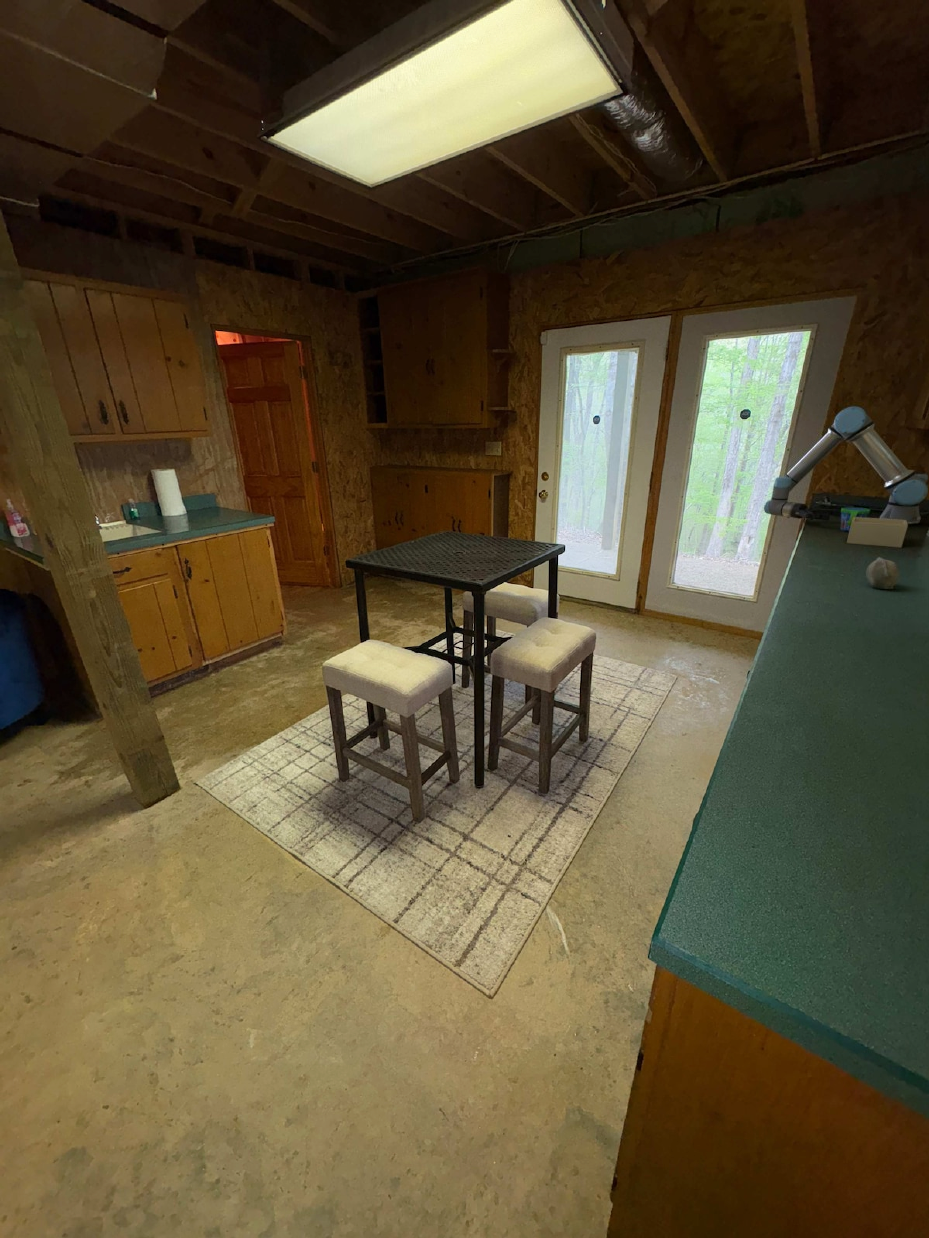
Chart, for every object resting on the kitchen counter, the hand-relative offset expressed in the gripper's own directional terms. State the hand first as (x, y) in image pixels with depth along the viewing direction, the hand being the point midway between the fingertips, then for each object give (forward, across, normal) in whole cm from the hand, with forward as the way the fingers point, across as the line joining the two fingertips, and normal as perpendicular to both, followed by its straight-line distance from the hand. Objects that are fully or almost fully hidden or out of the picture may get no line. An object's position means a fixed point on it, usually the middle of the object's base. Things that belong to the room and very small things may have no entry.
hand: (838, 516), depth 229 cm
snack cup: (+7, 0, -6) cm, 9 cm away
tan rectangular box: (+26, +16, -6) cm, 30 cm away
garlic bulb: (+62, +76, -6) cm, 99 cm away
